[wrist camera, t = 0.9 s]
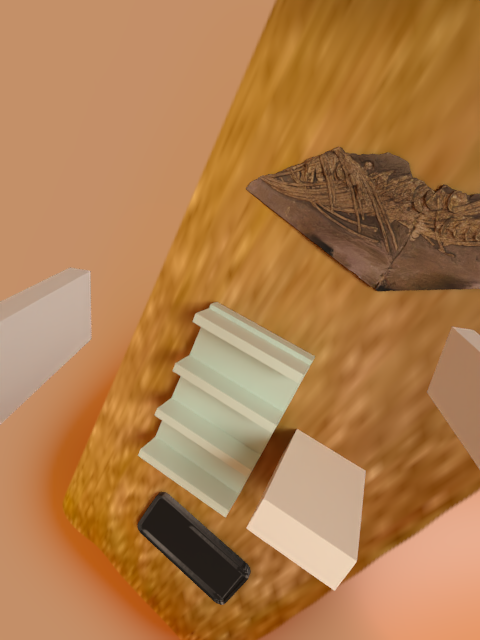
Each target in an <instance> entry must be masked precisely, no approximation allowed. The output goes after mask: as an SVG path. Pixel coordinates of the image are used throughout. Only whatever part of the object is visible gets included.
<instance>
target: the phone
mask: <svg viewBox="0 0 480 640" xmlns="http://www.w3.org/2000/svg"><path fill="white" fill-rule="evenodd" d="M138 530H139V531H140V533H141V534H142V535H143V536H145V537H146V538H147V539H148V540H149V541H150V542H151V543H152V544H153V545H154V546H155V547H156V548H157V549H158V550H160V551H161V552H162V553H163V554H164V555H165V556H166V557H167V558H168V559H169V560H170V561H171V562H172V563H174V564H175V565H176V566H177V567H178V568H179V569H180V570H181V571H182V572H183V573H184V574H185V575H186V576H188V577H189V578H190V579H191V580H192V581H193V582H194V583H195V584H196V585H197V586H198V587H199V588H200V589H201V590H203V591H204V592H205V593H206V594H207V595H208V596H209V597H210V598H211V599H212V600H213V601H214V602H216V603H218V604H221V605H222V604H225V603H226V602H227V601H228V600H229V599H230V598H231V597H232V596H233V595H234V593H235V592H236V591H237V590H238V589H239V588H240V587H241V586H242V585H243V584H244V583H245V582H246V581H247V579H248V577H249V575H250V567H249V566H248V564H247V563H246V562H244V561H243V560H242V559H241V558H240V557H239V556H238V555H237V554H235V553H234V552H233V551H232V550H231V549H230V548H229V547H227V546H226V545H225V544H224V543H223V542H222V541H221V540H220V539H218V538H217V537H216V536H215V535H214V534H213V533H212V532H211V531H209V530H208V529H207V528H206V527H205V526H204V525H203V524H202V523H200V522H199V521H198V520H197V519H196V518H195V517H194V516H193V515H191V514H190V513H189V512H188V511H187V510H186V509H185V508H184V507H182V506H181V505H180V504H179V503H178V502H177V501H176V500H174V499H173V498H172V497H171V496H170V495H169V494H167V493H165V492H161V493H159V494H158V495H157V496H156V497H155V499H154V500H153V502H152V503H151V505H150V506H149V508H148V509H147V511H146V512H145V514H144V515H143V517H142V518H141V519H140V521H139V522H138Z"/></svg>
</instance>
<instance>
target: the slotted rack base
mask: <svg viewBox="0 0 480 640" xmlns="http://www.w3.org/2000/svg"><path fill="white" fill-rule="evenodd" d="M192 322H194V323H195V324H197V325H199V326H200V327H201V328H200V331H199V333H198V336H197V338H196V340H195V343H194V345H193V348H192V350H191V352H190V355H189V356H187V357H185V358H183V359H182V360H180V361H178V362H177V363H175V366H174V368H173V372H175V373H177V374H178V375H180V379H179V381H178V383H177V386H176V388H175V391H174V393H173V395H172V398H170V399H169V400H168V401H166V402H165V403H164V404H162V405H161V406H160V407H158V408H157V410H156V412H155V416H156V417H158V418H159V419H161V420H162V422H161V424H160V427H159V429H158V431H157V434H156V436H155V437H154V438H153V439H152V440H151V441H150V442H148V443H147V444H146V445H145V446H144V447H143V448H141V449H140V452H139V454H138V456H139V457H141V458H142V459H144V460H145V461H146V462H148V463H149V464H151V465H152V466H153V467H155V468H156V469H158V470H159V471H160V472H162V473H163V474H165V475H166V476H168V477H169V478H170V479H172V480H173V481H175V482H176V483H177V484H179V485H180V486H182V487H183V488H184V489H186V490H187V491H189V492H190V493H192V494H193V495H194V496H196V497H197V498H199V499H200V500H201V501H203V502H204V503H206V504H207V505H209V506H210V507H211V508H213V509H214V510H216V511H217V512H218V513H220V514H221V515H223V516H224V517H225V518H226V516H227V514H228V512H229V511H230V509H231V507H232V506H233V504H234V502H235V501H236V499H237V497H238V496H239V494H240V492H241V490H242V488H243V487H244V485H245V483H246V481H247V479H248V477H249V476H250V474H251V472H252V470H253V468H254V467H255V465H256V463H257V461H258V459H259V458H260V456H261V454H262V452H263V450H264V448H265V447H266V445H267V443H268V441H269V439H270V438H271V436H272V434H273V432H274V430H275V429H276V427H277V425H278V423H279V421H280V419H281V418H282V416H283V414H284V412H285V410H286V409H287V407H288V405H289V403H290V401H291V400H292V398H293V396H294V394H295V392H296V391H297V389H298V387H299V385H300V383H301V381H302V380H303V378H304V376H305V374H306V372H307V371H308V369H309V367H310V365H311V363H312V362H313V360H314V358H315V356H313V355H311V354H310V353H308V352H306V351H304V350H302V349H301V348H299V347H297V346H295V345H293V344H292V343H290V342H288V341H286V340H284V339H283V338H281V337H279V336H277V335H275V334H274V333H272V332H270V331H268V330H266V329H265V328H263V327H261V326H259V325H257V324H256V323H254V322H252V321H250V320H248V319H247V318H245V317H243V316H241V315H239V314H238V313H236V312H234V311H232V310H230V309H229V308H227V307H225V306H223V305H221V304H220V303H218V302H215V303H212V304H210V307H209V308H208V309H205V310H203V311H200V312H197V313H196V314H195V316H194V319H193V321H192Z"/></svg>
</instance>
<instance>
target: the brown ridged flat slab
mask: <svg viewBox="0 0 480 640" xmlns="http://www.w3.org/2000/svg"><path fill="white" fill-rule="evenodd" d="M246 189H247V190H248V191H249V192H250V193H252V194H253V195H254V196H255V197H257V198H258V199H259V200H261V201H262V202H263V203H264V204H266V205H267V206H268V207H269V208H271V209H272V210H273V211H274V212H276V213H277V214H279V215H280V216H281V217H282V218H284V219H285V220H286V221H287V222H289V223H290V224H291V225H293V226H294V227H295V228H296V229H298V230H299V231H300V232H301V233H303V234H304V235H305V236H306V237H308V238H309V239H310V240H311V241H313V242H314V243H315V244H317V245H318V246H319V247H321V248H322V249H323V250H324V251H325V252H327V253H328V254H329V255H331V256H332V257H333V258H334V259H336V260H337V261H338V262H340V263H341V264H342V265H344V266H345V267H346V268H347V269H348V270H350V271H352V272H354V273H355V274H356V275H358V276H359V278H361V279H362V280H363V281H364V282H366V283H367V284H368V285H370V286H371V287H373V288H375V286H376V284H378V282H380V283H379V285H378V286H377V287H376V288H375V289H376V290H377V291H390V290H393V291H399V290H425V289H427V290H431V289H435V290H437V289H473V288H475V289H477V288H478V289H480V194H474V195H471V196H469V195H467V194H466V193H462V191H457V190H454V189H451V188H450V187H448V186H447V185H443V186H442V187H441V188H440V189H439V190H438V191H436V192H435V191H433V190H432V189H431V188H429V187H427V185H426V184H425V183H424V182H423V181H421V180H418V179H417V178H413V177H412V174H411V171H410V167H409V163H408V162H407V161H405V160H404V159H402V158H400V157H398V156H395V155H392V154H391V153H385V154H380V155H376V154H370V155H366V154H362V155H357V154H349V153H345V151H344V150H343V149H342V148H341V147H337V148H335V149H333V150H331V151H327V152H325V153H324V154H322V155H320V156H316V157H312V158H310V159H308V160H306V161H305V162H304V163H302V164H298V165H295V166H291V167H289V168H287V169H285V170H283V171H281V172H278V173H276V174H274V175H273V174H268V175H265V176H260V177H259V178H258V179H256V180H254V181H252V182H251V183H250V184H249V185H248V187H246Z"/></svg>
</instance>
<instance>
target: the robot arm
mask: <svg viewBox="0 0 480 640" xmlns="http://www.w3.org/2000/svg"><path fill="white" fill-rule="evenodd" d="M90 287H91V286H90V271H88V270H81V269H75V268H68V269H66V270H64V271H62V272H60V273H58V274H56V275H54V276H52V277H50V278H48V279H46V280H44V281H42V282H40V283H38V284H36V285H34V286H31V287H30V288H27V289H25V290H23V291H21V292H19V293H17V294H15V295H13V296H11V297H9V298H7V299H5V300H3V301H1V302H0V424H1V423H2V422H3V421H4V420H5V419H7V418H8V417H9V416H10V415H11V414H12V413H13V412H14V411H15V410H16V409H17V408H18V407H19V406H20V405H22V404H23V403H24V402H25V401H26V400H27V399H28V398H29V397H30V396H31V395H32V394H33V393H34V392H35V391H36V390H37V389H39V388H40V387H41V386H42V385H43V384H44V383H45V382H46V381H47V380H48V379H49V378H50V377H51V376H52V375H53V374H54V373H56V372H57V371H58V370H59V369H60V368H61V367H62V366H63V365H64V364H65V363H66V362H67V361H68V360H69V359H70V358H72V357H73V356H74V355H75V354H76V353H77V352H78V351H79V350H80V349H81V348H82V347H83V346H84V345H85V344H86V343H88V342H89V341H90V340H91V288H90ZM427 393H428V394H429V396H430V397H431V399H432V400H433V402H434V403H435V405H436V406H437V408H438V409H439V411H440V412H441V413H442V415H443V416H444V418H445V419H446V421H447V422H448V424H449V425H450V427H451V428H452V430H453V431H454V433H455V434H456V435H457V437H458V438H459V440H460V441H461V443H462V444H463V446H464V447H465V449H466V450H467V452H468V453H469V455H470V456H471V457H472V459H473V460H474V462H475V463H476V465H477V466H478V468H479V469H480V335H479V334H478V333H477V332H475V331H474V330H470V329H464V328H457V327H452V328H451V330H450V333H449V335H448V338H447V341H446V343H445V346H444V349H443V351H442V354H441V357H440V359H439V362H438V365H437V367H436V370H435V372H434V375H433V378H432V380H431V383H430V386H429V388H428V391H427Z"/></svg>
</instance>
